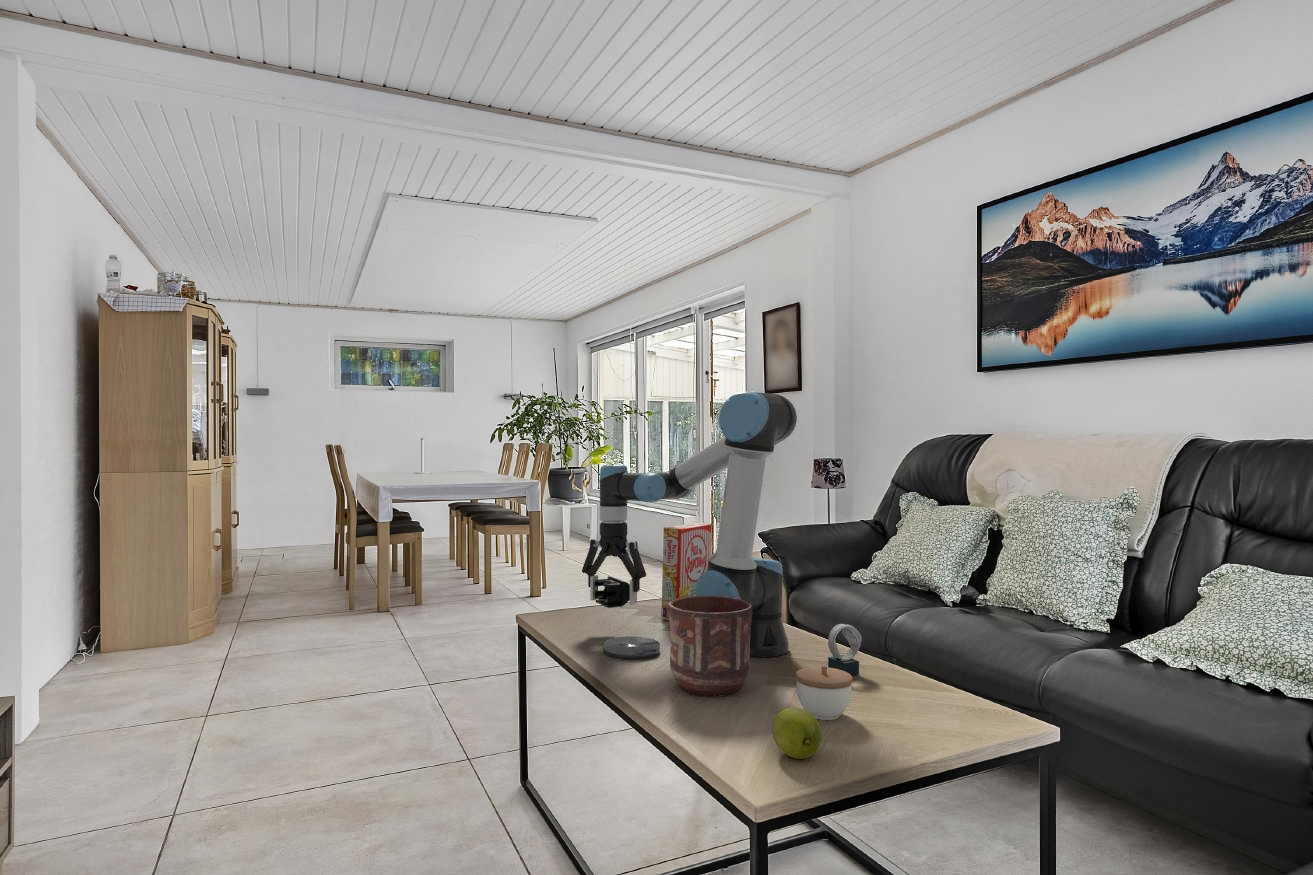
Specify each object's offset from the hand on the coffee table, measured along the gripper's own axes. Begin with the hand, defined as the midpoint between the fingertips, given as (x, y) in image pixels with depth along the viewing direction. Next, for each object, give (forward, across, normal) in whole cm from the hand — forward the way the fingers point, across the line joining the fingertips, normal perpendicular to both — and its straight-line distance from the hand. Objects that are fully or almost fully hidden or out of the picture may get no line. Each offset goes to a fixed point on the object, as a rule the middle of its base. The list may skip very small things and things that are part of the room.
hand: (613, 601), depth 210 cm
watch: (+10, -63, +2) cm, 64 cm away
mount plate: (+9, -13, +13) cm, 21 cm away
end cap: (+1, 0, 0) cm, 1 cm away
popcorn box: (+9, -6, -31) cm, 33 cm away
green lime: (+10, -69, +53) cm, 88 cm away
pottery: (+10, -41, +28) cm, 51 cm away
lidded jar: (+10, -67, +31) cm, 75 cm away
